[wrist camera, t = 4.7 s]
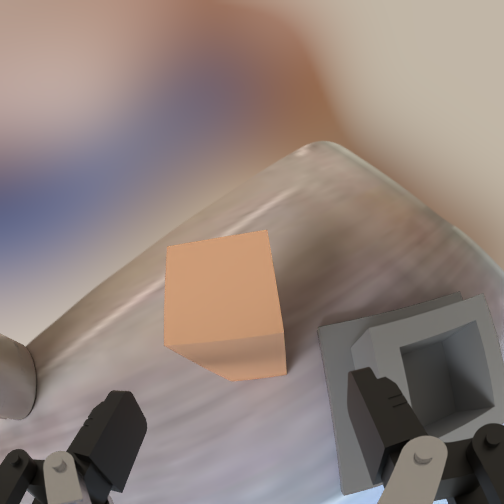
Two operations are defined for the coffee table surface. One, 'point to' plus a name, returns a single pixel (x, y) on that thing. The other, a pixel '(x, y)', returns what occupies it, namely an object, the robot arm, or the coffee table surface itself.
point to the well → (417, 371)
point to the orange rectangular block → (225, 306)
